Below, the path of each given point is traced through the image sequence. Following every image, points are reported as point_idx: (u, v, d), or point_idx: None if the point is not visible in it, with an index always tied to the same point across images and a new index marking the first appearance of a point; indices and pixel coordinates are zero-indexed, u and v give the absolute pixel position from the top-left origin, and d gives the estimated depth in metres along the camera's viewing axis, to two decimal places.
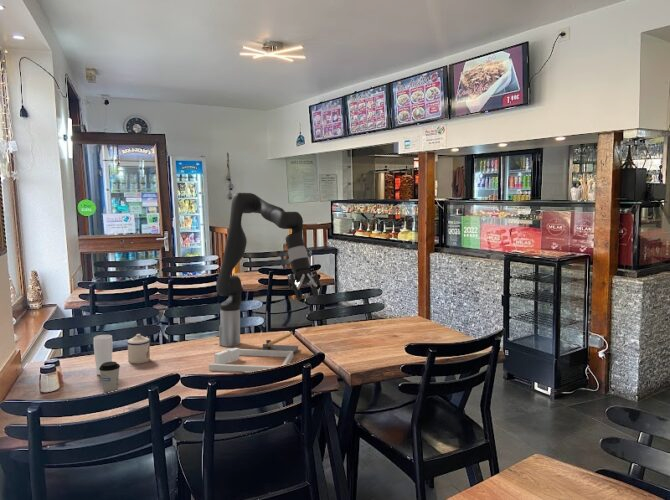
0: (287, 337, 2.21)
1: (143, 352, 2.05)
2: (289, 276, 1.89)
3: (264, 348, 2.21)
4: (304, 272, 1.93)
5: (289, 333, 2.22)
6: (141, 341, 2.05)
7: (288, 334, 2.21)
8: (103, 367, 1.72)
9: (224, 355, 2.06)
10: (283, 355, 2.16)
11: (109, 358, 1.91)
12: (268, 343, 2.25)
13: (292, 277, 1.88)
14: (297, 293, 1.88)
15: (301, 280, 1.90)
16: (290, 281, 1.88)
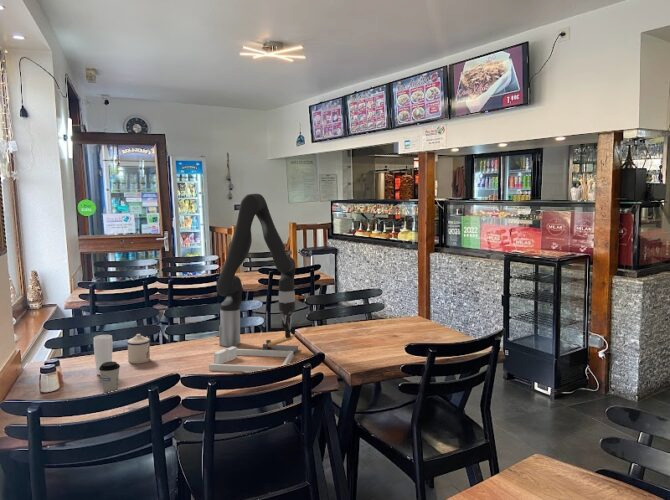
0: (288, 340, 2.21)
1: (143, 352, 2.05)
2: (284, 322, 2.16)
3: (264, 348, 2.21)
4: (289, 313, 2.22)
5: (291, 336, 2.22)
6: (141, 341, 2.05)
7: (289, 337, 2.21)
8: (103, 367, 1.72)
9: (223, 354, 2.07)
10: (283, 355, 2.16)
11: (109, 358, 1.91)
12: (268, 343, 2.25)
13: (287, 323, 2.17)
14: (288, 332, 2.21)
15: (290, 321, 2.21)
16: (285, 325, 2.18)
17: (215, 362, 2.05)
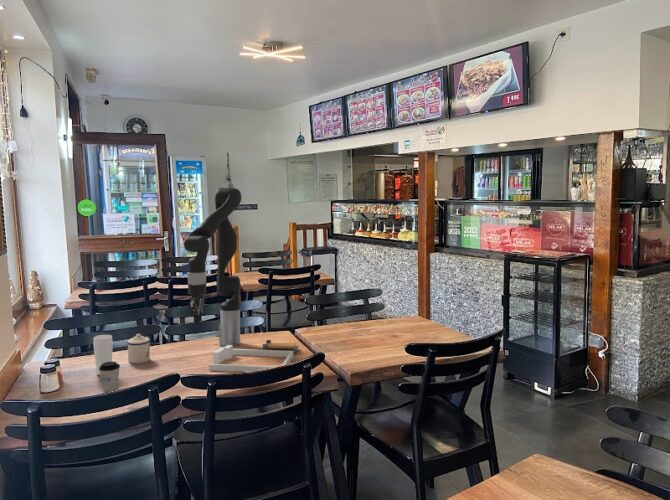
0: (289, 347, 2.21)
1: (143, 352, 2.05)
2: (192, 305, 2.01)
3: (264, 348, 2.21)
4: (200, 296, 2.07)
5: (293, 344, 2.23)
6: (141, 341, 2.05)
7: (291, 345, 2.21)
8: (103, 367, 1.72)
9: (222, 352, 2.09)
10: (283, 355, 2.16)
11: (109, 358, 1.91)
12: (269, 344, 2.25)
13: (195, 305, 2.01)
14: (197, 318, 2.05)
15: (200, 305, 2.05)
16: (193, 309, 2.02)
17: (214, 361, 2.06)
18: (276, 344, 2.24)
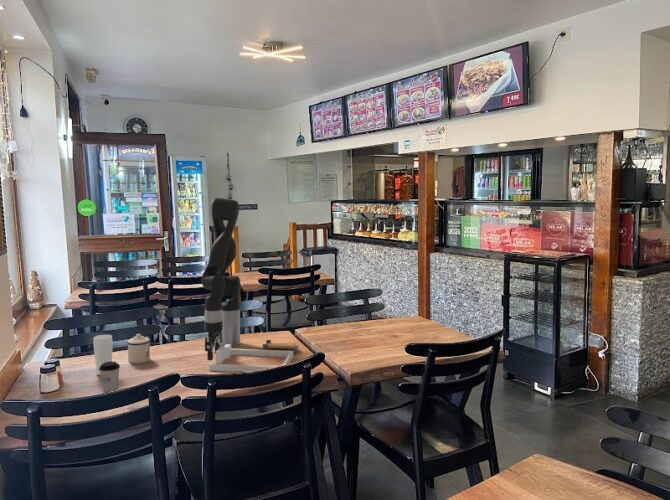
0: (289, 347, 2.21)
1: (143, 352, 2.05)
2: (207, 339, 2.01)
3: (264, 348, 2.21)
4: (216, 333, 2.08)
5: (293, 344, 2.23)
6: (141, 341, 2.05)
7: (291, 345, 2.21)
8: (103, 367, 1.72)
9: (223, 352, 2.10)
10: (283, 355, 2.16)
11: (109, 358, 1.91)
12: (269, 344, 2.25)
13: (210, 340, 2.01)
14: (210, 355, 2.03)
15: (215, 342, 2.05)
16: (208, 344, 2.01)
17: (217, 360, 2.07)
18: (276, 344, 2.24)
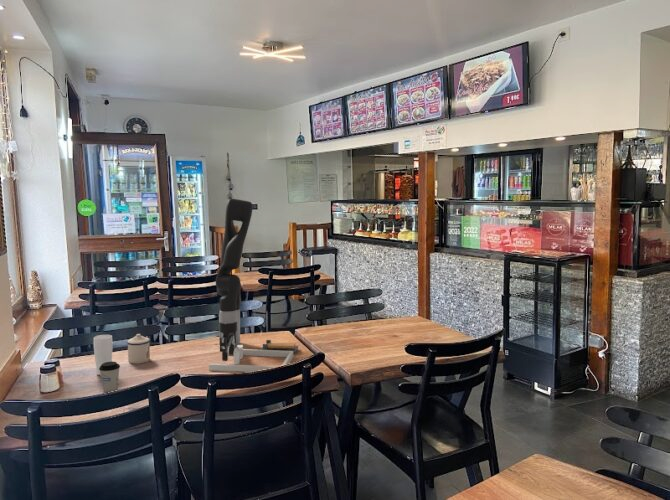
0: (289, 347, 2.21)
1: (143, 352, 2.05)
2: (222, 340, 2.00)
3: (264, 348, 2.21)
4: (231, 334, 2.07)
5: (293, 344, 2.23)
6: (141, 341, 2.05)
7: (291, 345, 2.21)
8: (103, 367, 1.72)
9: (239, 352, 2.10)
10: (283, 355, 2.16)
11: (109, 358, 1.91)
12: (269, 344, 2.25)
13: (225, 341, 2.00)
14: (225, 355, 2.02)
15: (230, 343, 2.04)
16: (223, 344, 2.00)
17: (235, 361, 2.06)
18: (276, 344, 2.24)
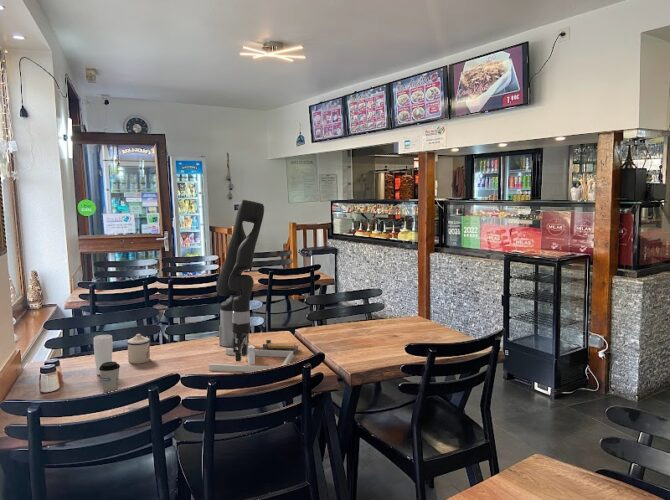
0: (289, 347, 2.21)
1: (143, 352, 2.05)
2: (236, 340, 1.99)
3: (264, 348, 2.21)
4: (243, 334, 2.06)
5: (293, 344, 2.23)
6: (141, 341, 2.05)
7: (291, 345, 2.21)
8: (103, 367, 1.72)
9: None
10: (283, 355, 2.16)
11: (109, 358, 1.91)
12: (269, 344, 2.25)
13: (239, 342, 2.00)
14: (238, 356, 2.02)
15: (243, 343, 2.04)
16: (236, 345, 1.99)
17: (250, 362, 2.05)
18: (276, 344, 2.24)
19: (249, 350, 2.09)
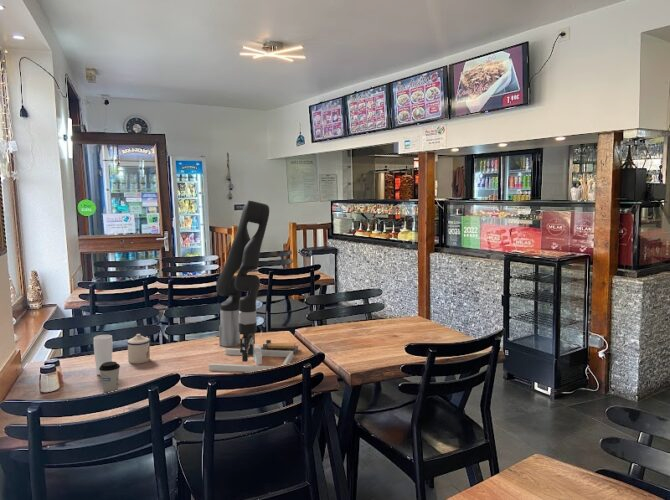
0: (289, 347, 2.21)
1: (143, 352, 2.05)
2: (243, 340, 1.99)
3: (264, 348, 2.21)
4: (250, 334, 2.06)
5: (293, 344, 2.23)
6: (141, 341, 2.05)
7: (291, 345, 2.21)
8: (103, 367, 1.72)
9: None
10: (283, 355, 2.16)
11: (109, 358, 1.91)
12: (269, 344, 2.25)
13: (246, 342, 2.00)
14: (245, 356, 2.02)
15: (249, 343, 2.04)
16: (243, 345, 1.99)
17: (258, 362, 2.05)
18: (276, 344, 2.24)
19: (256, 350, 2.09)
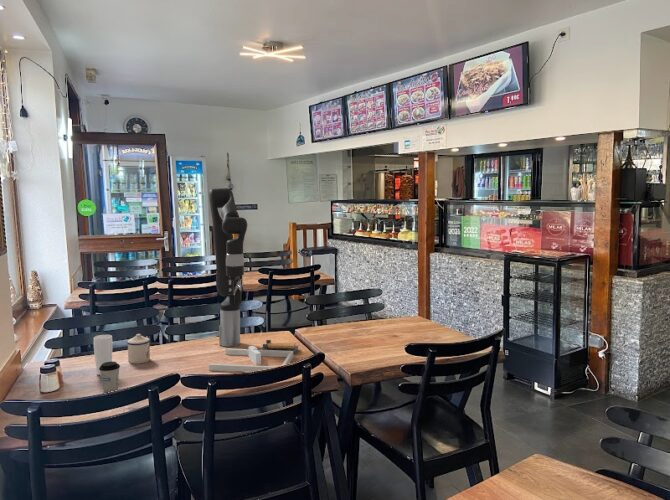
0: (289, 347, 2.21)
1: (143, 352, 2.05)
2: (230, 282, 2.00)
3: (264, 348, 2.21)
4: (237, 278, 2.07)
5: (293, 344, 2.23)
6: (141, 341, 2.05)
7: (291, 345, 2.21)
8: (103, 367, 1.72)
9: None
10: (283, 355, 2.16)
11: (109, 358, 1.91)
12: (269, 344, 2.25)
13: (233, 283, 2.00)
14: (232, 298, 2.02)
15: (237, 286, 2.04)
16: (230, 287, 2.00)
17: (257, 362, 2.05)
18: (276, 344, 2.24)
19: (253, 351, 2.08)
